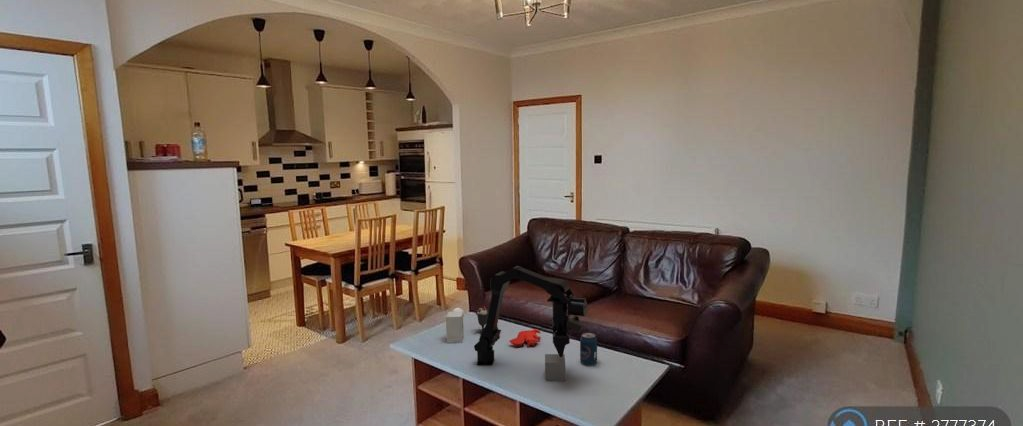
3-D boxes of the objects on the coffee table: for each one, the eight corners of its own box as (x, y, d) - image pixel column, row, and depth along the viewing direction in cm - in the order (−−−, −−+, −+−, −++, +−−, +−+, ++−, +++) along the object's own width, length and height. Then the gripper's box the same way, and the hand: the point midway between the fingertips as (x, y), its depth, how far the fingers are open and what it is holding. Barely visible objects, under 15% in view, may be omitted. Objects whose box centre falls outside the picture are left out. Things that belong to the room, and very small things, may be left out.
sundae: (488, 335, 231) (487, 305, 229) (474, 334, 232) (473, 304, 230) (491, 330, 237) (490, 300, 235) (478, 329, 238) (477, 300, 236)
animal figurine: (505, 346, 219) (505, 335, 218) (527, 336, 229) (527, 325, 229) (523, 353, 211) (523, 342, 210) (546, 342, 221) (546, 331, 221)
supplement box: (462, 342, 223) (461, 316, 221) (446, 343, 223) (445, 317, 221) (464, 336, 230) (463, 311, 228) (448, 336, 230) (447, 311, 228)
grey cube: (545, 380, 185) (545, 362, 184) (545, 371, 193) (544, 354, 192) (565, 380, 185) (565, 362, 184) (564, 371, 192) (564, 354, 191)
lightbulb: (459, 332, 235) (458, 310, 233) (449, 330, 238) (448, 308, 237) (467, 328, 240) (466, 307, 239) (457, 326, 244) (456, 305, 242)
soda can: (576, 363, 199) (576, 335, 198) (586, 357, 204) (586, 330, 203) (591, 368, 195) (590, 339, 193) (600, 362, 200) (600, 334, 198)
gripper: (583, 321, 175) (583, 362, 177) (579, 305, 193) (579, 342, 196) (552, 321, 176) (553, 362, 178) (551, 305, 194) (552, 342, 196)
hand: (560, 351), depth 187 cm, fingers open, 9 cm apart
